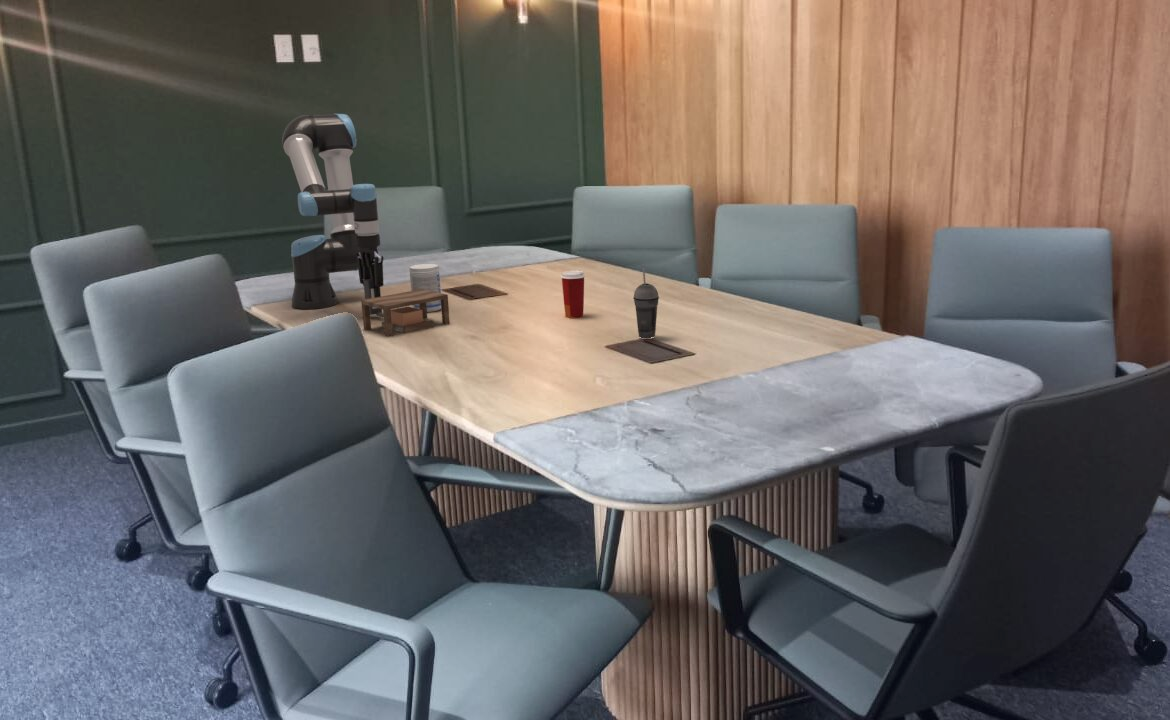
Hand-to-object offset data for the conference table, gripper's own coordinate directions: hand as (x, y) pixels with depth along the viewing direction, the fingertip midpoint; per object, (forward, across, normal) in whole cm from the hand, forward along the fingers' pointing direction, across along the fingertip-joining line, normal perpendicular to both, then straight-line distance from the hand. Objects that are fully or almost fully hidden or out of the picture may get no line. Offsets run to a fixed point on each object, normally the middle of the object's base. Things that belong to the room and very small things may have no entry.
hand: (373, 306), depth 325 cm
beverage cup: (+4, +85, +38) cm, 93 cm away
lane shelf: (+4, +19, 0) cm, 20 cm away
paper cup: (+4, +48, +43) cm, 65 cm away
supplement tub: (+4, +3, +18) cm, 19 cm away
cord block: (+3, +11, 0) cm, 11 cm away
